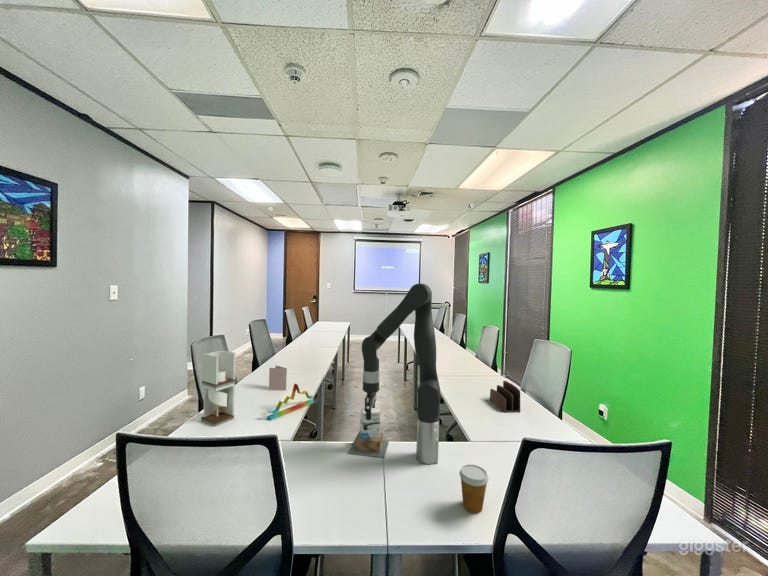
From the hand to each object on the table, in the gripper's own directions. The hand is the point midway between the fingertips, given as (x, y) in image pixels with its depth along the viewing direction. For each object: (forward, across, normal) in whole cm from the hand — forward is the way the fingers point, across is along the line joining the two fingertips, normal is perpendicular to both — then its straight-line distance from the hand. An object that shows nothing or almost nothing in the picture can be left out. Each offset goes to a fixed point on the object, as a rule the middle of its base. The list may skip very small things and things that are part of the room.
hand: (370, 415), depth 140 cm
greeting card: (+14, +58, +76) cm, 97 cm away
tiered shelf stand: (+13, +9, +83) cm, 85 cm away
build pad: (+15, 0, 0) cm, 15 cm away
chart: (+14, +29, +52) cm, 61 cm away
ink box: (+9, 0, 0) cm, 9 cm away
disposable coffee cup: (+15, -29, -42) cm, 53 cm away
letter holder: (+16, +67, -72) cm, 100 cm away
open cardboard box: (+14, 0, 0) cm, 14 cm away
